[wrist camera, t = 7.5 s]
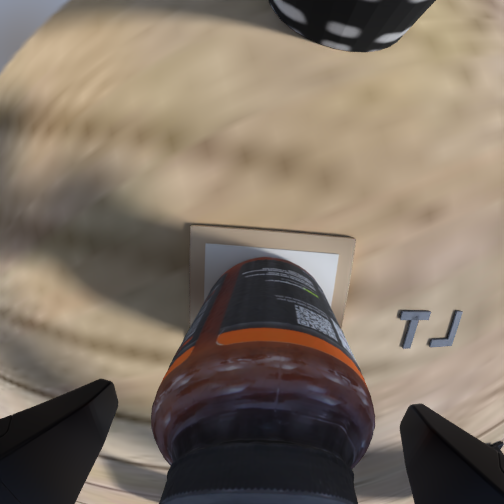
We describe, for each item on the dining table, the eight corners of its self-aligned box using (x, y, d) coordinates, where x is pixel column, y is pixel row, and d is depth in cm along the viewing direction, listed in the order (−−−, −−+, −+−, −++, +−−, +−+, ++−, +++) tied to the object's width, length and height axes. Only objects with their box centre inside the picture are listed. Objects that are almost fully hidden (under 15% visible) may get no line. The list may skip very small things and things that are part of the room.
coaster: (328, 372, 16) (330, 377, 15) (192, 361, 16) (190, 366, 16) (353, 237, 14) (356, 239, 13) (192, 224, 14) (190, 226, 14)
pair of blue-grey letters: (450, 344, 15) (451, 345, 15) (391, 347, 15) (392, 348, 15) (461, 310, 14) (462, 311, 14) (401, 310, 14) (402, 311, 14)
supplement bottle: (215, 360, 15) (153, 549, 4) (202, 256, 14) (49, 423, 3) (323, 357, 15) (367, 552, 4) (327, 250, 14) (460, 429, 3)
